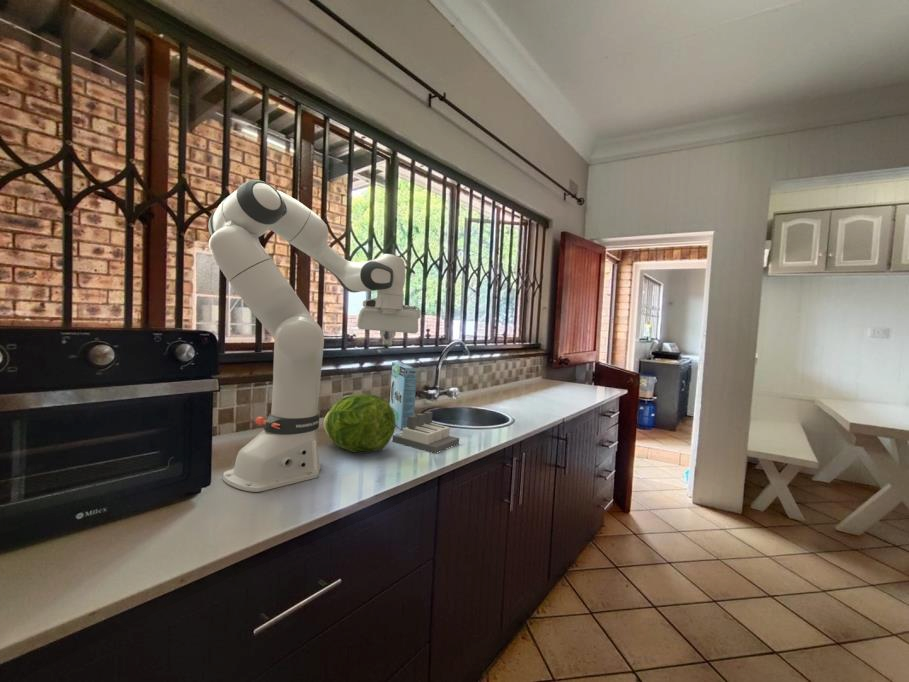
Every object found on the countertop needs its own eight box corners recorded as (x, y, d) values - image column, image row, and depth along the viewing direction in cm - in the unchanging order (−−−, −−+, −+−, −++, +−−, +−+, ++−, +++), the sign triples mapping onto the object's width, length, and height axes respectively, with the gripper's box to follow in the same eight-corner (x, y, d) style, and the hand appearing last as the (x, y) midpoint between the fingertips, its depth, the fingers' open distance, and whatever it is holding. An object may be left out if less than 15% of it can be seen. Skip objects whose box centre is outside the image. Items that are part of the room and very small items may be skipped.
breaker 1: (411, 428, 130) (412, 417, 130) (406, 427, 131) (407, 416, 131) (416, 427, 132) (417, 416, 132) (411, 426, 133) (412, 415, 133)
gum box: (413, 430, 148) (418, 368, 147) (399, 430, 146) (404, 367, 145) (399, 417, 166) (404, 361, 165) (387, 417, 164) (391, 361, 163)
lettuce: (351, 436, 136) (341, 387, 134) (408, 439, 125) (399, 386, 122) (312, 459, 121) (300, 404, 118) (373, 465, 110) (361, 405, 107)
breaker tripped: (419, 426, 134) (420, 415, 134) (415, 424, 135) (415, 414, 135) (424, 424, 136) (424, 414, 136) (419, 423, 137) (420, 413, 137)
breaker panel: (435, 453, 124) (436, 437, 123) (392, 441, 132) (393, 426, 132) (458, 444, 136) (459, 429, 135) (417, 433, 144) (418, 419, 144)
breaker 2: (427, 423, 138) (428, 413, 137) (423, 422, 139) (423, 412, 138) (431, 422, 140) (432, 412, 139) (427, 421, 141) (427, 411, 140)
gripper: (421, 306, 140) (418, 346, 140) (361, 301, 138) (358, 342, 139) (420, 306, 133) (417, 347, 134) (358, 301, 132) (355, 343, 132)
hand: (387, 344), depth 136 cm, fingers closed
